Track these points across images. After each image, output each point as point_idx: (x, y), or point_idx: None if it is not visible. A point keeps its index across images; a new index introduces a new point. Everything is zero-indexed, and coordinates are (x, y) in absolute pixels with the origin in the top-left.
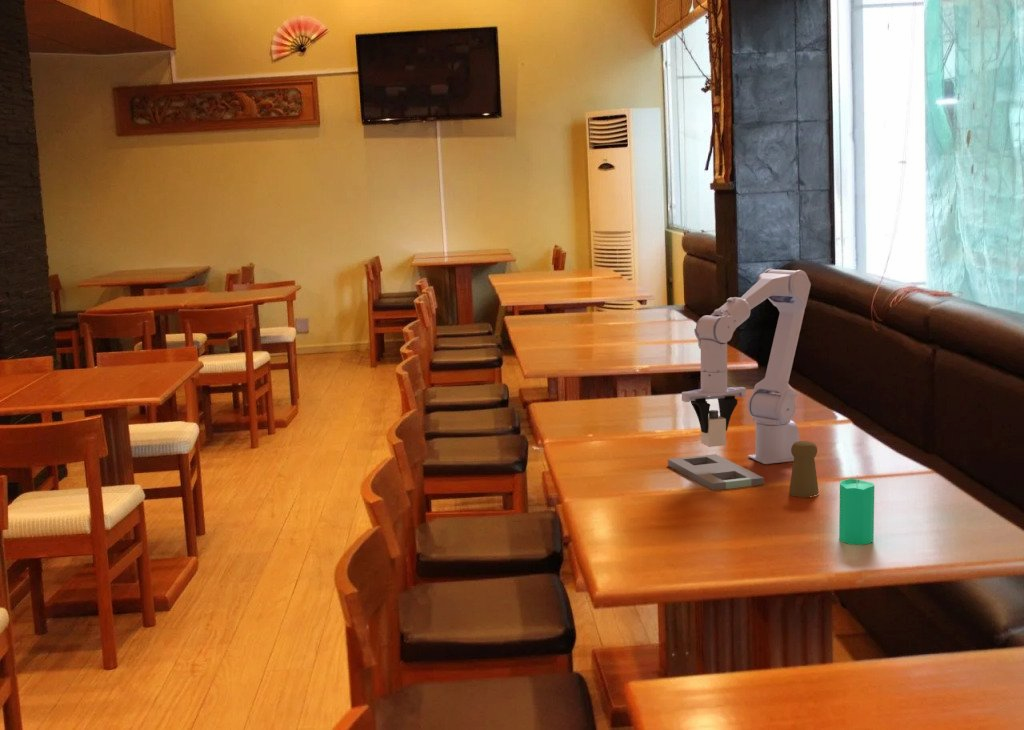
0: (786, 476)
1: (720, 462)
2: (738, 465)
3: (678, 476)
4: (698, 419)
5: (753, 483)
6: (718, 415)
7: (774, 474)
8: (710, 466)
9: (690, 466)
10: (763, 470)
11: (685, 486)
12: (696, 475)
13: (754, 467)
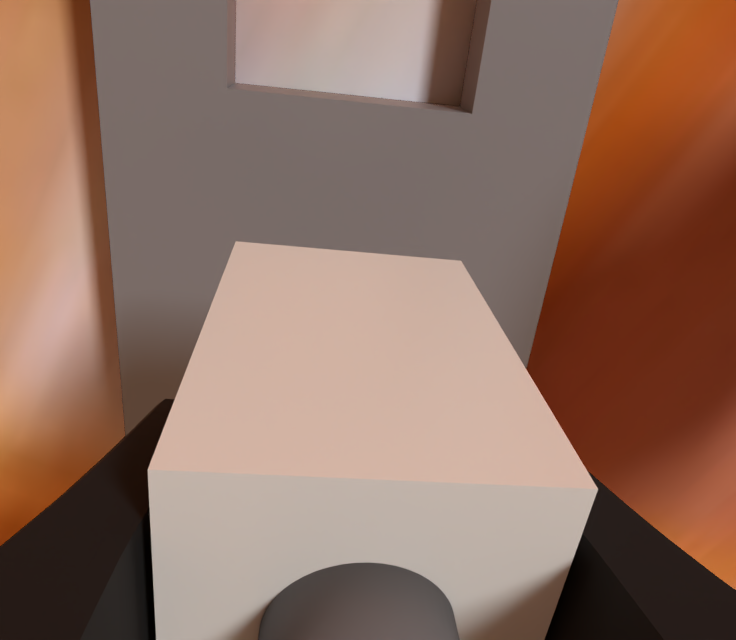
0: (688, 459)
1: (491, 117)
2: (548, 272)
3: (53, 144)
4: (43, 511)
5: None
6: (584, 523)
7: (671, 399)
8: (339, 196)
9: (178, 108)
10: (696, 293)
11: (15, 397)
12: (120, 354)
13: (715, 194)
